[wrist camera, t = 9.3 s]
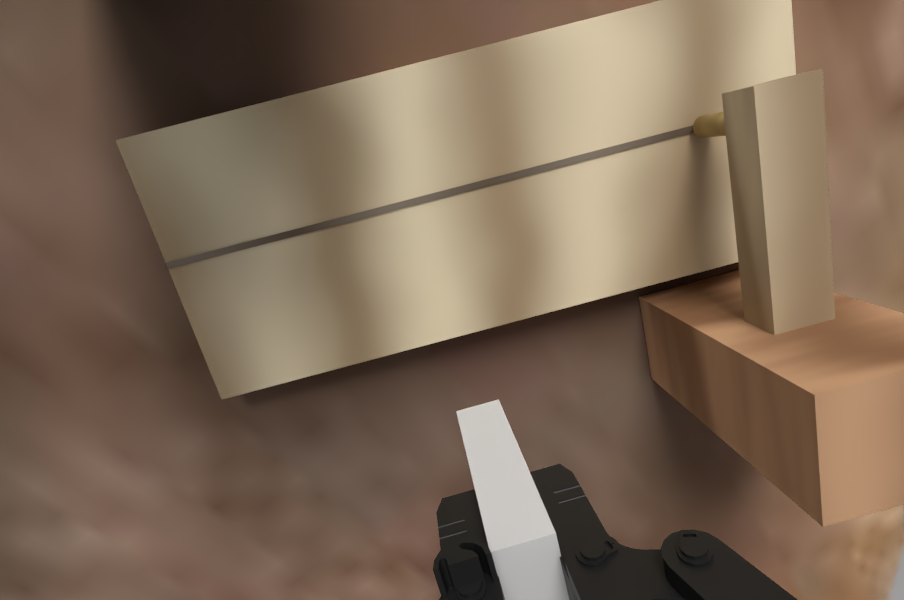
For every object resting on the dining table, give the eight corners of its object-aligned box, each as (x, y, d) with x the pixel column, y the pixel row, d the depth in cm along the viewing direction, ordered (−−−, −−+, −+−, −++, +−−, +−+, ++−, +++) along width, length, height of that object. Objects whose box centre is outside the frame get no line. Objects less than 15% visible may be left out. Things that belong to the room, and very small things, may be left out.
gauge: (653, 390, 24) (824, 544, 14) (611, 120, 20) (794, 78, 11) (757, 362, 24) (998, 496, 14) (731, 89, 20) (1020, 19, 11)
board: (236, 381, 22) (221, 400, 20) (141, 142, 19) (114, 140, 17) (775, 237, 22) (807, 244, 20) (755, -15, 20) (790, -34, 18)
